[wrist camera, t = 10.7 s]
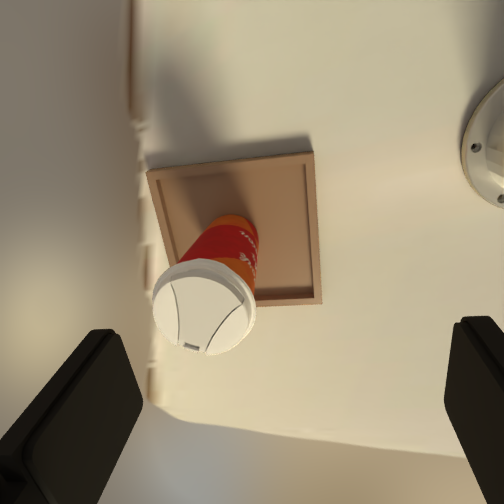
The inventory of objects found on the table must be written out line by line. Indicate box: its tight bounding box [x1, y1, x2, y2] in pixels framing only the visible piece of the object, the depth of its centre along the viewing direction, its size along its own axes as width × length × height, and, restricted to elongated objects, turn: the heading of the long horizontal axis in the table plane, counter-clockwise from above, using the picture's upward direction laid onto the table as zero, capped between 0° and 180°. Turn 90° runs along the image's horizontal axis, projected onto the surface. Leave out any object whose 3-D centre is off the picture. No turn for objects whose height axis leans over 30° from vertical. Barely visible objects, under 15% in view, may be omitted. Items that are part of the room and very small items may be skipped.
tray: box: [146, 151, 322, 307], centre depth 37 cm, size 16×16×1 cm
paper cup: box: [152, 214, 259, 355], centre depth 31 cm, size 8×8×14 cm
